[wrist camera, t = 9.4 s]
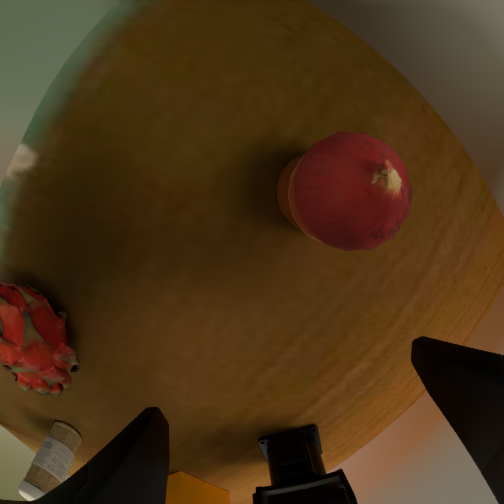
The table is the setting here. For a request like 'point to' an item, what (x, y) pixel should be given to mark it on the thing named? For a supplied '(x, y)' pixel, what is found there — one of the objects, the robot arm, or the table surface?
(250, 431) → the table surface
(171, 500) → the orange juice
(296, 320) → the table surface
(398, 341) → the table surface
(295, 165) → the cup
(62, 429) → the sprinkles bottle
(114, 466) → the robot arm
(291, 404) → the table surface
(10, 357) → the dragon fruit
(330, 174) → the onion
